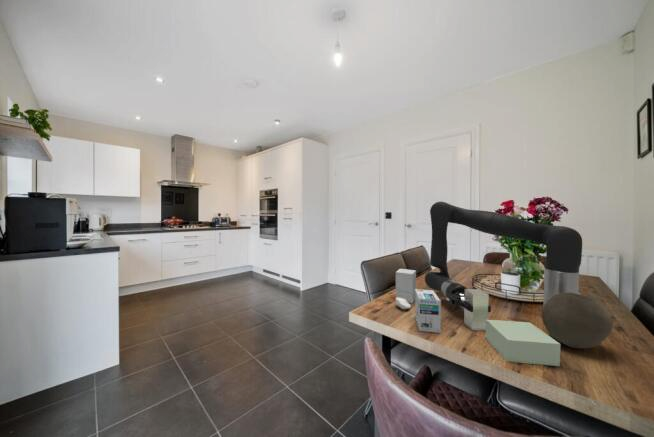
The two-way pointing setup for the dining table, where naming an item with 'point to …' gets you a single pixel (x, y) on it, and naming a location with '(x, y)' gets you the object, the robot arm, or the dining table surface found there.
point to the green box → (522, 342)
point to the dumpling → (402, 303)
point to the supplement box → (406, 284)
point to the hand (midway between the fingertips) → (480, 309)
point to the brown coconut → (576, 320)
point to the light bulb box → (427, 311)
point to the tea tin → (476, 309)
